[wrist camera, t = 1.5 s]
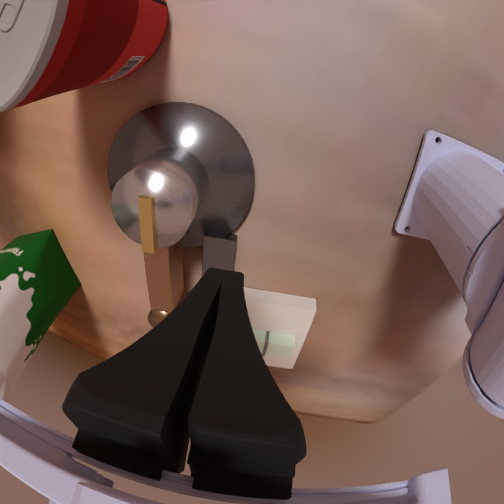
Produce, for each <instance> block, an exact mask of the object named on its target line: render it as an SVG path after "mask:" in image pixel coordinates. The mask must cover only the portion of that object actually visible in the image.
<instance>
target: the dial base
mask: <svg viewBox="0 0 504 504" xmlns="http://www.w3.org/2000/svg"><path fill="white" fill-rule="evenodd" d="M170 147H171V148H180V149H183V150H186V151H188V152H190V153H191V154H193V155H194V156H195V157H197V158H198V159H199V161H200V162H201V163H202V164H203V166H204V168H205V170H206V172H207V175H208V180H209V189H208V193H207V196H206V199H205V200H204V202H203V204H202V205H201V207H200V209H199V210H198V212H197V214H196V216H195V217H194V219H193V221H192V222H191V224H190V226H189V228H188V229H187V231H186V233H185V235H184V236H183V247H197V246H203V264H202V276H203V275H204V273H205V272H206V270H207V269H208V268H210V267H212V268H218V269H223V270H229V271H233V268H234V259H235V250H236V241H237V235H231V234H229V233H231V232H232V231H233V230H234V229H235V228H236V227H237V226H238V225H239V224H240V222H241V221H242V220H243V219H244V217H245V215H246V213H247V211H248V209H249V206H250V204H251V201H252V197H253V193H254V187H255V172H254V165H253V161H252V157H251V155H250V152H249V149H248V147H247V145H246V143H245V142H244V140H243V138H242V137H241V135H240V134H239V133H238V131H237V130H236V129H235V128H234V127H233V126H232V125H231V124H230V123H229V122H228V121H227V120H225V119H224V118H223V117H222V116H220V115H219V114H217V113H215V112H214V111H212V110H210V109H207V108H205V107H203V106H200V105H196V104H192V103H185V102H169V103H163V104H159V105H156V106H153V107H150V108H147V109H145V110H143V111H141V112H139V113H138V114H136V115H135V116H134V117H132V118H131V119H130V120H129V121H128V122H127V123H126V124H125V125H124V126H123V127H122V129H121V130H120V131H119V133H118V134H117V136H116V138H115V140H114V142H113V145H112V147H111V151H110V155H109V162H108V176H109V183H110V187H111V190H112V192H113V189H114V187H115V185H116V183H117V182H118V181H119V180H120V179H121V178H122V177H123V176H124V175H125V174H127V173H128V172H129V171H130V170H132V169H133V168H134V167H136V166H137V165H138V164H140V163H141V162H142V161H144V160H145V159H146V158H148V157H149V156H150V155H152V154H153V153H155V152H156V151H158V150H160V149H164V148H170Z"/></svg>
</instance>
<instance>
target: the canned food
mask: <svg viewBox="0 0 504 504" xmlns="http://www.w3.org/2000/svg"><path fill="white" fill-rule="evenodd" d="M167 24H168V8H167V4H166V1H165V0H0V113H1V112H6V111H8V110H11V109H13V108H16V107H20V106H23V105H26V104H29V103H32V102H35V101H38V100H41V99H44V98H47V97H50V96H53V95H57V94H60V93H64V92H68V91H71V90H75V89H79V88H83V87H87V86H91V85H96V84H100V83H105V82H110V81H114V80H118V79H121V78H123V77H126V76H128V75H130V74H131V73H133V72H134V71H136V70H137V69H139V68H140V67H141V66H142V65H143V64H144V63H146V62H147V61H148V60H149V59H150V58H151V57H152V55H153V54H154V53H155V52H156V50H157V49H158V47H159V45H160V44H161V42H162V40H163V37H164V35H165V32H166V29H167Z"/></svg>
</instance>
